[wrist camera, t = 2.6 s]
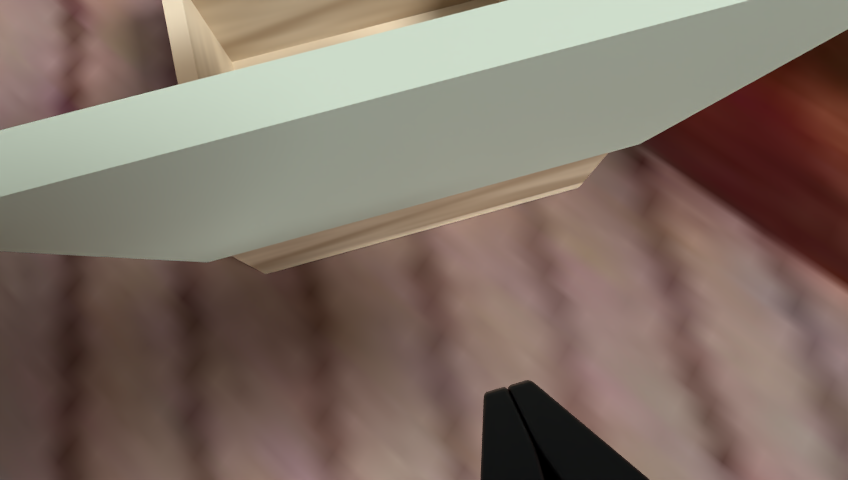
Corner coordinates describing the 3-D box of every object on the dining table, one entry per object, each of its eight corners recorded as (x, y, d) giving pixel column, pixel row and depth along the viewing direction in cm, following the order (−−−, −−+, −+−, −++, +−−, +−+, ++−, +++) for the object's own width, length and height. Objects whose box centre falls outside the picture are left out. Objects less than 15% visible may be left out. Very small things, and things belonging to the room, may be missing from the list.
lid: (625, 116, 15) (634, 146, 15) (203, 230, 14) (212, 262, 14) (1009, -158, 5) (1038, -76, 5) (-194, 146, 5) (-173, 242, 5)
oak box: (578, 187, 20) (627, 129, 15) (265, 274, 19) (208, 243, 14) (505, -12, 22) (526, -121, 17) (219, 61, 21) (156, -30, 16)
